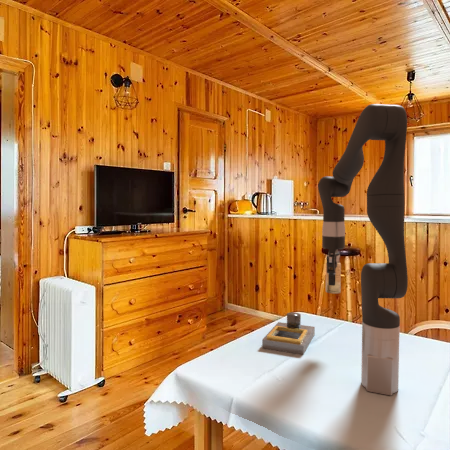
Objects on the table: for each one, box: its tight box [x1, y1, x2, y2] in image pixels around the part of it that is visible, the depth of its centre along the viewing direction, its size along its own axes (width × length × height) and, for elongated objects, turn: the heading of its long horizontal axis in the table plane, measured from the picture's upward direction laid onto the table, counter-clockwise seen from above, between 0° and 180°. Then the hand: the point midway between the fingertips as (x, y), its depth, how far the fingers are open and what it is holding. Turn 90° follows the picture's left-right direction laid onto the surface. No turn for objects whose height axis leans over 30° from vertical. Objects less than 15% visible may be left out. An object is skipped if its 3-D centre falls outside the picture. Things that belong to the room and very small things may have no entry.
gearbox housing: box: [261, 311, 316, 355], centre depth 131 cm, size 20×14×8 cm
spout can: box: [325, 262, 342, 294], centre depth 127 cm, size 5×5×12 cm
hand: (333, 283), depth 127 cm, fingers closed on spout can, 5 cm apart
